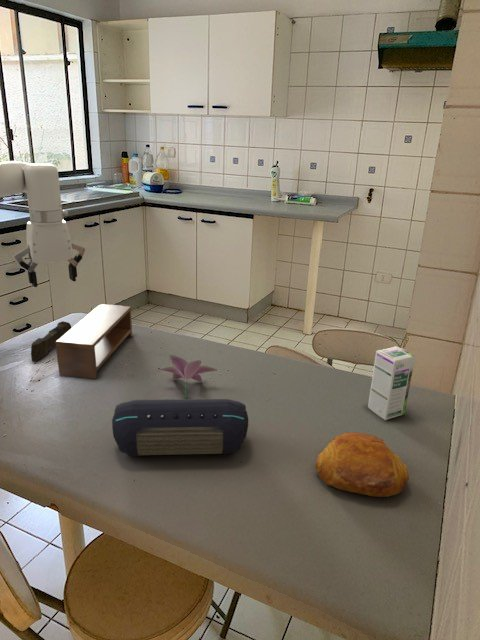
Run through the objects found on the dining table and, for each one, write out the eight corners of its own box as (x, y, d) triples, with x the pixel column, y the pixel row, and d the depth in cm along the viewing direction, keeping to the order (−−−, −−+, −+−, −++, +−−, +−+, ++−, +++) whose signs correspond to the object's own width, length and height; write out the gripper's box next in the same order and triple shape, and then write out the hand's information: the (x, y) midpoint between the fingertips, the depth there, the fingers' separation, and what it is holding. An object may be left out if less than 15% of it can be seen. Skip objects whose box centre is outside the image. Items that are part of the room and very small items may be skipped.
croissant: (401, 522, 76) (417, 486, 72) (308, 490, 79) (320, 454, 75) (398, 464, 89) (412, 431, 85) (319, 438, 91) (329, 406, 88)
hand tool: (59, 332, 134) (57, 318, 132) (72, 334, 133) (71, 319, 132) (22, 362, 116) (19, 346, 115) (37, 364, 116) (35, 347, 114)
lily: (223, 395, 108) (221, 354, 109) (195, 398, 98) (193, 353, 99) (180, 396, 113) (179, 357, 115) (150, 400, 103) (148, 356, 104)
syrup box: (385, 421, 99) (396, 360, 93) (366, 407, 104) (376, 349, 98) (404, 415, 101) (417, 355, 96) (385, 401, 106) (396, 344, 101)
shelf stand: (59, 375, 111) (55, 341, 108) (102, 332, 135) (100, 303, 132) (95, 379, 110) (92, 345, 107) (132, 335, 134) (130, 306, 131)
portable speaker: (109, 468, 82) (105, 420, 78) (118, 433, 91) (115, 389, 87) (250, 464, 84) (252, 418, 80) (245, 431, 93) (247, 388, 90)
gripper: (76, 212, 122) (82, 274, 128) (4, 216, 112) (15, 283, 118) (86, 216, 116) (91, 281, 123) (12, 221, 106) (22, 292, 113)
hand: (54, 282), depth 121 cm, fingers open, 9 cm apart
